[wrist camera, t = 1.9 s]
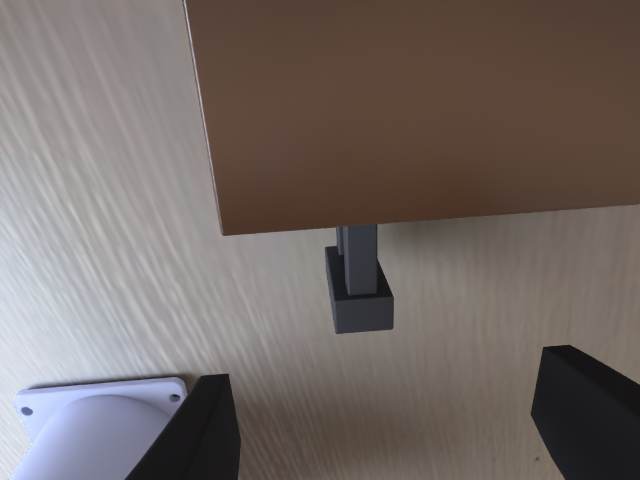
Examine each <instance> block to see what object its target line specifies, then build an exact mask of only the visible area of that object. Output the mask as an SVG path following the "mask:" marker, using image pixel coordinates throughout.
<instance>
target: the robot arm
mask: <svg viewBox="0 0 640 480" xmlns="http://www.w3.org/2000/svg"><path fill="white" fill-rule="evenodd" d="M173 394H176V395H178V396H179V397H176V396H174V395H173ZM13 403H14V406H15V408H16V410H17V412H18V414H19V417H20V419H21V421H22V423H23V425H24V427H25V430H26V432H27V434H28V436H29V438H30V441H31V443H32V445H31V446H30V448H29V449H28V451H27V452H26V454H25V455H24V456H23V458H22V459H21V461H20V462H19V464H18V465H17V467H16V468H15V470H14V471H13V473H12V474H11V476H10V477H9V478H8V480H238V471H239V459H240V445H241V438H240V433H239V427H238V422H237V416H236V411H235V406H234V400H233V395H232V389H231V384H230V379H229V374H217V375H205V376H201V377H200V378H199V379H198V380H197V381H196V383H195V384H194V386H193V387H192V389H191V390H190V392H189V393H188V394H187V390H186V386H185V383H184V381H183V380H181V379H180V378H177V377H169V378H157V379H145V380H134V381H122V382H110V383H99V384H87V385H75V386H63V387H52V388H40V389H28V390H22V391H20V392H18V393H17V395H16V396H15V397H14V399H13ZM28 407H29V408H28ZM30 408H31V409H30ZM531 416H532V418H533V420H534V422H535V425H536V427H537V429H538V431H539V433H540V435H541V437H542V439H543V441H544V443H545V445H546V447H547V449H548V451H549V453H550V455H551V457H552V459H553V461H554V462H555V464H556V466H557V467H558V469H559V470H560V472H561V473H562V475H563V477H564V478H565V480H640V385H639V384H637V383H636V382H634V381H632V380H631V379H629V378H627V377H626V376H624V375H622V374H620V373H619V372H617V371H615V370H614V369H612V368H610V367H609V366H607V365H605V364H603V363H602V362H600V361H598V360H596V359H595V358H593V357H591V356H589V355H588V354H586V353H584V352H582V351H580V350H578V349H577V348H575V347H573V346H571V345H561V346H549V347H543V351H542V356H541V362H540V367H539V372H538V378H537V383H536V388H535V394H534V399H533V404H532V410H531Z"/></svg>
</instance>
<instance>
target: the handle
mask: <svg viewBox="0 0 640 480" xmlns="http://www.w3.org/2000/svg"><path fill="white" fill-rule="evenodd" d="M336 234H337V246H331V247H326V248H325V256H326V273H327V280H328V286H329V293H330V300H331V306H332V313H333V320H334V326H335V332H336V334H343V333H355V332H367V331H379V330H391V329H393V314H394V297H393V295H392V292H391V290H390V287H389V285H388V283H387V280H386V278H385V275H384V273H383V271H382V268H381V266H380V263H379V261H378V259H377V224H373V225H360V226H347V227H336Z"/></svg>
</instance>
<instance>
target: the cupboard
mask: <svg viewBox="0 0 640 480" xmlns="http://www.w3.org/2000/svg"><path fill="white" fill-rule="evenodd" d="M182 1H183V7H184V13H185V19H186V25H187V31H188V37H189V43H190V49H191V56H192V62H193V68H194V74H195V80H196V86H197V92H198V98H199V104H200V110H201V116H202V122H203V128H204V134H205V140H206V146H207V152H208V158H209V164H210V170H211V176H212V182H213V188H214V194H215V200H216V206H217V212H218V218H219V224H220V230H221V234H222V235H223V236H228V235H241V234H255V233H268V232H281V231H294V230H307V229H320V228H333V227H347V226H360V225H373V224H386V223H399V222H412V221H425V220H438V219H452V218H465V217H478V216H491V215H504V214H517V213H530V212H543V211H557V210H570V209H583V208H596V207H609V206H622V205H635V204H640V0H182Z"/></svg>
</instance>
